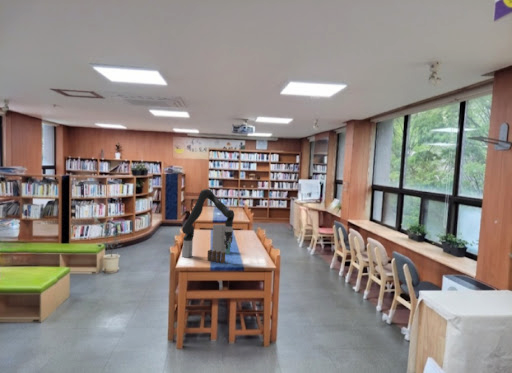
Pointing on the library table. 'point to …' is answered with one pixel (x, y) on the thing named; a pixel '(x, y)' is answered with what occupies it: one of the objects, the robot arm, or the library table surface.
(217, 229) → the tall gray block
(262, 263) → the library table surface
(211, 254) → the domino
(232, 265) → the library table surface
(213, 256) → the domino
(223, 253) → the domino
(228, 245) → the domino
